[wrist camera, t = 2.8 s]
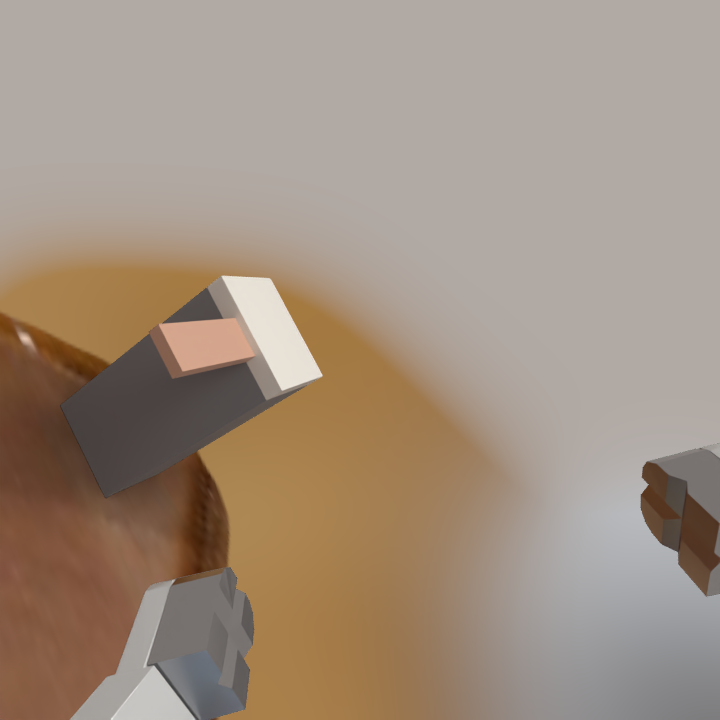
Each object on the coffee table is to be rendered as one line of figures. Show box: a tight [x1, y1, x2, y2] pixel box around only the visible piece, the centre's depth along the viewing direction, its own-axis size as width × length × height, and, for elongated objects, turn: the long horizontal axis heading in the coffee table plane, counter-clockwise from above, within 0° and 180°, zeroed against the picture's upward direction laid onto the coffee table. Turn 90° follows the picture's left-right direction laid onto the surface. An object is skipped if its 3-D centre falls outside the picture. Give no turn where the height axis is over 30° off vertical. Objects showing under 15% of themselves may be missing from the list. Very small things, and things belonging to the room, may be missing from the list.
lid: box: [149, 276, 322, 400], centre depth 42 cm, size 17×12×2 cm
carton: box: [60, 288, 307, 498], centre depth 51 cm, size 8×12×26 cm, turn 52°
